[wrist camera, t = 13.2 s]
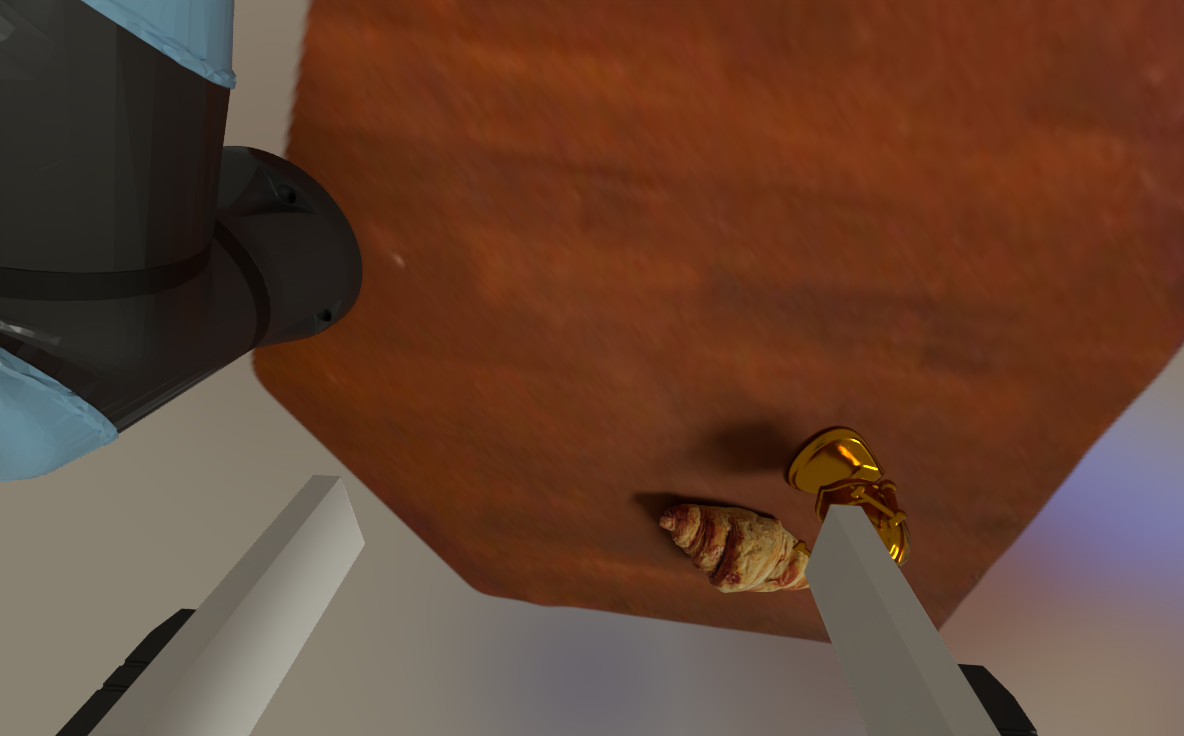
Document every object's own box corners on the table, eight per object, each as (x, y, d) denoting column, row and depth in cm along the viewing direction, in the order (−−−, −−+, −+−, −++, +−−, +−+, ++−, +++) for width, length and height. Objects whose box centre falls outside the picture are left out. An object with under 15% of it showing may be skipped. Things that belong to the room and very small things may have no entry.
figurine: (812, 412, 41) (875, 510, 31) (905, 451, 43) (995, 558, 33) (759, 473, 46) (800, 578, 35) (846, 507, 47) (909, 618, 37)
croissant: (814, 529, 54) (866, 563, 46) (779, 603, 54) (824, 649, 46) (667, 464, 50) (696, 489, 42) (629, 544, 50) (651, 585, 42)
